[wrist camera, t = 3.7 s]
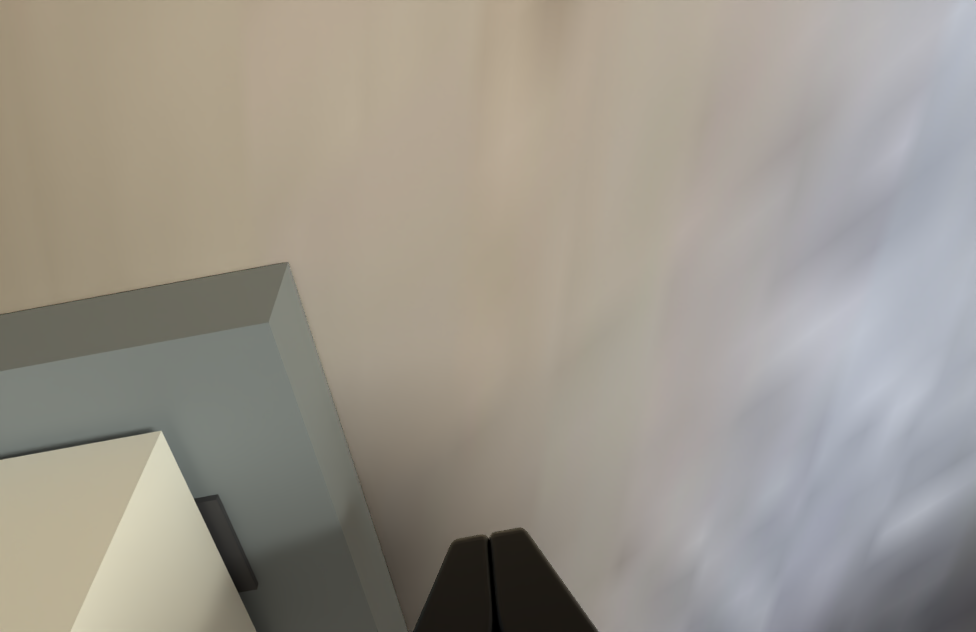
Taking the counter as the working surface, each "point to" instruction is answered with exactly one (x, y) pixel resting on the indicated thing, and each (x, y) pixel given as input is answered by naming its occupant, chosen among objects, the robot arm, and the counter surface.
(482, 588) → the robot arm
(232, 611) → the tab
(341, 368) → the counter surface
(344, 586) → the switch bank
